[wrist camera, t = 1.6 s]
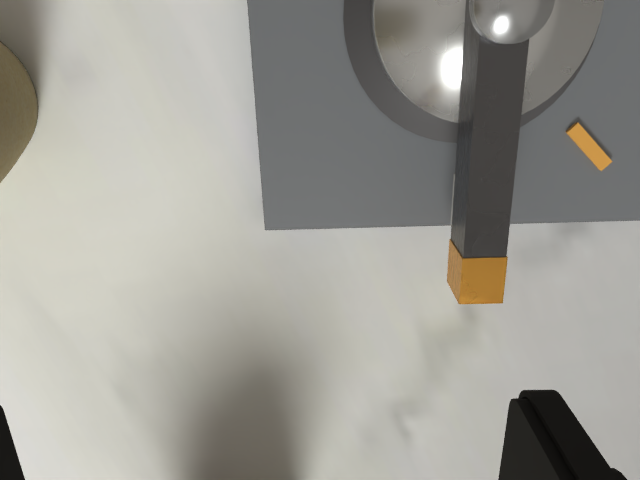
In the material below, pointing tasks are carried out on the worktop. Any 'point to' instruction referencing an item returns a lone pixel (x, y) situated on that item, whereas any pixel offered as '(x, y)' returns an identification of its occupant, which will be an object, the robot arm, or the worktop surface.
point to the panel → (428, 128)
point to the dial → (482, 102)
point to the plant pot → (15, 110)
